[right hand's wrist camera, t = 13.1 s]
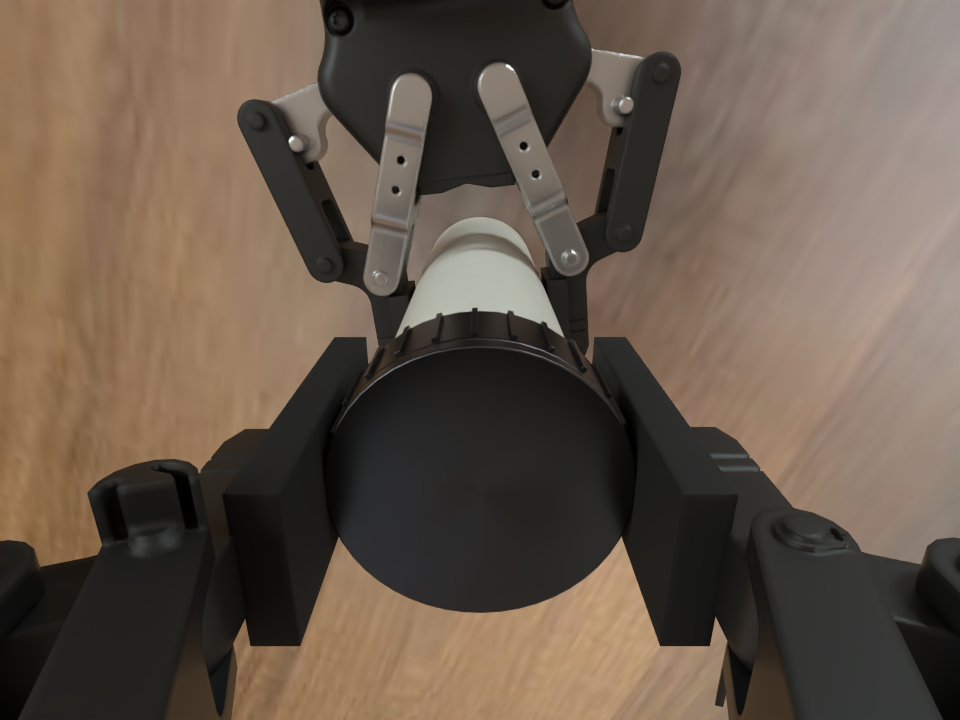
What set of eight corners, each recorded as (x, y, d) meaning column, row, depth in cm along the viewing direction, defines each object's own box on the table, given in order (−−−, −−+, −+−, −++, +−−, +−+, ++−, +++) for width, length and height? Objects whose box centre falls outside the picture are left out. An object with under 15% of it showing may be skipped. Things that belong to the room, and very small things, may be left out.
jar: (443, 327, 28) (390, 601, 12) (417, 230, 27) (312, 389, 10) (540, 306, 28) (628, 558, 11) (520, 205, 26) (588, 329, 10)
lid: (396, 570, 13) (381, 642, 11) (302, 348, 11) (267, 391, 10) (637, 515, 13) (665, 581, 11) (583, 271, 11) (605, 300, 9)
